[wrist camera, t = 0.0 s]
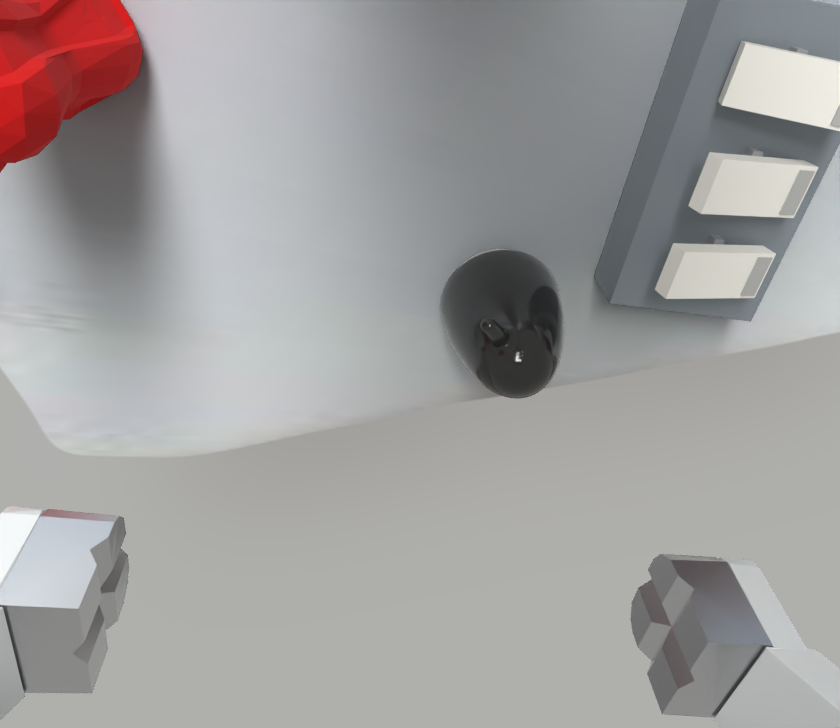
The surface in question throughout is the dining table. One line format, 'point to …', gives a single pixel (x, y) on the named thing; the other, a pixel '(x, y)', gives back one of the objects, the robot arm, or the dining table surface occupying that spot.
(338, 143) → the dining table surface
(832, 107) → the rocker
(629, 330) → the dining table surface
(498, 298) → the black rounded dome
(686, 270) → the rocker
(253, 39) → the dining table surface
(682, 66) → the console
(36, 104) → the water bottle
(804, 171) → the block
